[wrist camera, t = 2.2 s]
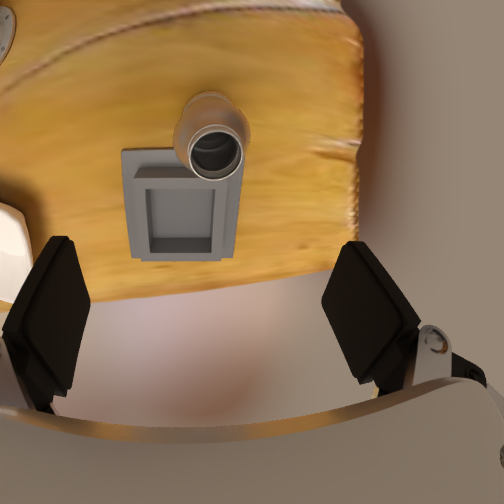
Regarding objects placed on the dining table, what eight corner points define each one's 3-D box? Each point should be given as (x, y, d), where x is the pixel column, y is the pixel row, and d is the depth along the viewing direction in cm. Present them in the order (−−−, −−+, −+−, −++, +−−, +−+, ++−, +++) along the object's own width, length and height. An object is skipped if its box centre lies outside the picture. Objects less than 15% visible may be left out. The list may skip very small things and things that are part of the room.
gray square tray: (123, 149, 33) (113, 160, 29) (244, 150, 37) (250, 161, 33) (132, 254, 44) (127, 274, 40) (232, 254, 47) (236, 273, 43)
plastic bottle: (242, 110, 33) (286, 151, 18) (208, 146, 36) (218, 217, 20) (207, 80, 30) (215, 85, 14) (172, 117, 32) (145, 165, 17)
